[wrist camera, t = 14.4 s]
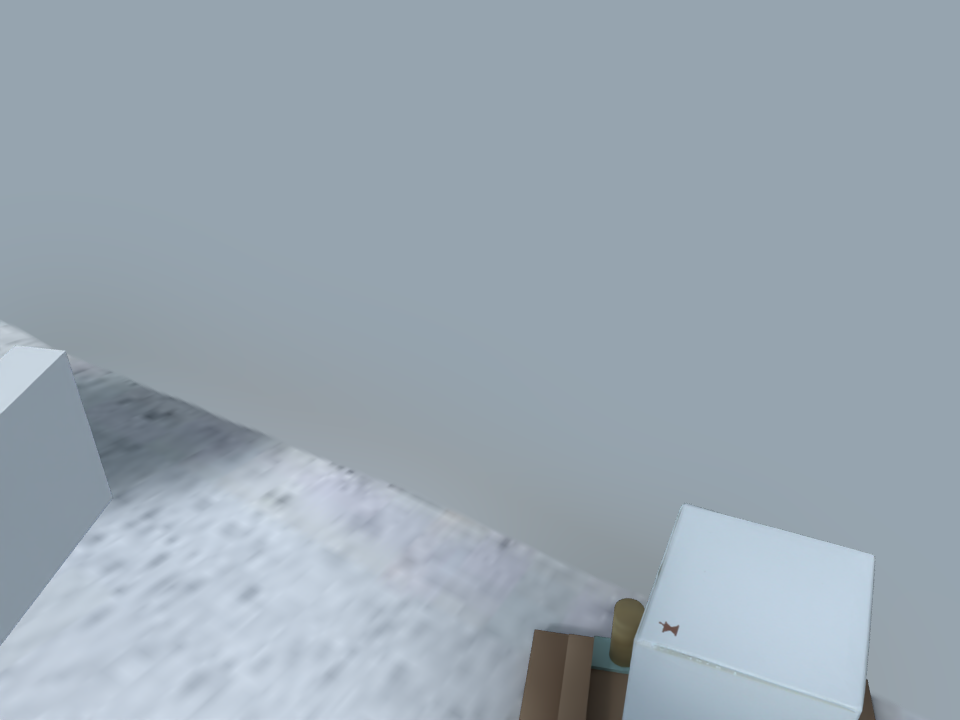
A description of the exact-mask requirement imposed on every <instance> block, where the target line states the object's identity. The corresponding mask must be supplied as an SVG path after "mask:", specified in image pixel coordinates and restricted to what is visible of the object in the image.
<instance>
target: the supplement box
mask: <svg viewBox="0 0 960 720" xmlns="http://www.w3.org/2000/svg"><path fill="white" fill-rule="evenodd" d="M874 568H875V556H874V555H873V554H869V553H866V552H862V551H859V550H855V549H852V548H848V547H845V546H841V545H837V544H834V543H830V542H826V541H823V540H819V539H815V538H811V537H808V536H804V535H801V534H797V533H793V532H790V531H786V530H782V529H778V528H775V527H771V526H767V525H763V524H759V523H755V522H751V521H748V520H744V519H740V518H736V517H732V516H729V515H725V514H722V513H718V512H715V511H711V510H708V509H705V508H701V507H697V506H694V505H691V504H688V503H684V504H683V505H682V506H681V508H680V510H679V513H678V516H677V519H676V522H675V525H674V527H673V530H672V533H671V536H670V539H669V542H668V544H667V547H666V550H665V553H664V556H663V559H662V562H661V564H660V566H659V569H658V572H657V574H656V578H655V582H654V585H653V588H652V591H651V594H650V596H649V599H648V602H647V605H646V608H645V610H644V613H643V616H642V619H641V622H640V625H639V627H638V630H637V633H636V635H635V638H634V643H633V651H632V657H631V663H630V670H629V677H628V683H627V690H626V697H625V704H624V710H623V717H622V720H858V719H859V717H860V715H861V712H862V709H863V703H864V695H865V686H866V675H867V663H868V652H869V641H870V627H871V613H872V600H873V587H874V570H875V569H874Z"/></svg>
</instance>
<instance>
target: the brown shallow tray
mask: <svg viewBox="0 0 960 720" xmlns="http://www.w3.org/2000/svg"><path fill="white" fill-rule="evenodd" d="M644 610H645V609H644V607H643V605H642V604H641V603H640V602H638V601H637V600H634V599H631V598H625V599H621V600H619V601H618V602H617V603H616V605H615V609H614V617H613V626H612V634H611V638H606V637H599V636H594V637H587V636H581V635H574V634H569V635H568V634H562V633H555V632H548V631H542V630H535V631H534V637H533V642H532V648H531V654H530V660H529V665H528V671H527V677H526V683H525V688H524V694H523V700H522V706H521V711H520V717H519V720H622V717H623V710H624V704H625V697H626V690H627V683H628V677H629V670H630V663H631V657H632V651H633V643H634V638H635V635H636V633H637V630H638V627H639V625H640V622H641V619H642V616H643V613H644ZM858 720H875V716H874V711H873V706H872V700H871V695H870V690H869V686H868V680H867V679H866V686H865V695H864V703H863V709H862V712H861V715H860V717H859V719H858Z"/></svg>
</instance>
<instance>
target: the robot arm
mask: <svg viewBox="0 0 960 720" xmlns="http://www.w3.org/2000/svg"><path fill="white" fill-rule="evenodd" d="M112 499H113V496H112V493H111V490H110V487H109V484H108V481H107V478H106V475H105V472H104V469H103V466H102V462H101V459H100V456H99V453H98V450H97V447H96V444H95V441H94V438H93V435H92V432H91V428H90V425H89V422H88V419H87V416H86V413H85V410H84V407H83V404H82V401H81V397H80V394H79V391H78V388H77V385H76V382H75V379H74V376H73V373H72V370H71V367H70V363H69V360H68V357H67V354H66V351H63V350H53V349H44V348H35V347H26V346H17V345H15V346H14V347H13V348H12V349H11V350H10V351H8V352H7V353H6V354H5V355H4V356H3V357H2V358H1V359H0V646H1V644H2V643H3V642H4V640H5V639H6V638H7V636H8V635H9V634H10V633H11V631H12V630H13V629H14V627H15V626H16V625H17V623H18V622H19V621H20V619H21V618H22V617H23V615H24V614H25V613H26V612H27V610H28V609H29V608H30V606H31V605H32V604H33V602H34V601H35V600H36V598H37V597H38V596H39V594H40V593H41V592H42V591H43V589H44V588H45V587H46V585H47V584H48V583H49V581H50V580H51V579H52V577H53V576H54V575H55V573H56V572H57V571H58V570H59V568H60V567H61V566H62V564H63V563H64V562H65V560H66V559H67V558H68V556H69V555H70V554H71V552H72V551H73V550H74V549H75V547H76V546H77V545H78V543H79V542H80V541H81V539H82V538H83V537H84V535H85V534H86V533H87V531H88V530H89V529H90V528H91V526H92V525H93V524H94V522H95V521H96V520H97V518H98V517H99V516H100V514H101V513H102V512H103V510H104V509H105V508H106V507H107V505H108V504H109V503H110V501H111V500H112Z"/></svg>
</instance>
